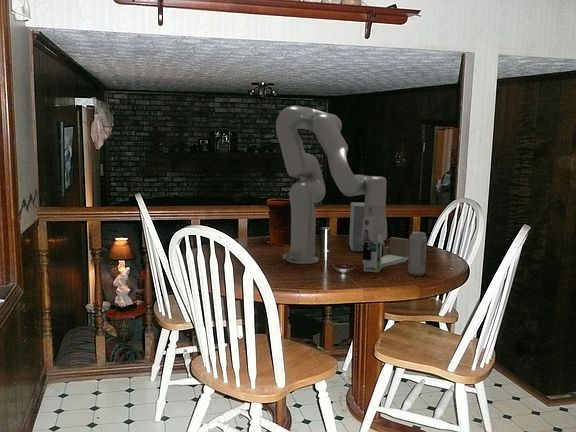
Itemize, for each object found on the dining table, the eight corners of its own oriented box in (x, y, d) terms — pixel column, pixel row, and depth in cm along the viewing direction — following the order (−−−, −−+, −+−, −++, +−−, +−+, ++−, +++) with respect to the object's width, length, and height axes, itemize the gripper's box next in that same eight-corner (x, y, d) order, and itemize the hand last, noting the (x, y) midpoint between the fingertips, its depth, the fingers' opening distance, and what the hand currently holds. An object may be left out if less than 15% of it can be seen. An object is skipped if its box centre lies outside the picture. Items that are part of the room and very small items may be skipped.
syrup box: (363, 271, 201) (364, 232, 199) (365, 268, 206) (367, 229, 204) (379, 272, 199) (380, 233, 197) (381, 269, 205) (382, 230, 203)
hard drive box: (369, 252, 236) (371, 206, 234) (351, 251, 237) (353, 205, 234) (365, 245, 252) (367, 202, 249) (348, 245, 252) (350, 201, 249)
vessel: (264, 239, 260) (266, 197, 258) (294, 240, 262) (296, 198, 259) (265, 245, 246) (267, 201, 244) (297, 246, 247) (299, 202, 245)
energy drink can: (411, 271, 203) (413, 230, 201) (427, 273, 200) (429, 232, 198) (405, 274, 198) (407, 232, 196) (421, 276, 195) (423, 234, 193)
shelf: (382, 267, 208) (383, 245, 206) (362, 263, 214) (363, 242, 212) (408, 260, 221) (409, 239, 220) (388, 256, 227) (389, 236, 226)
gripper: (369, 213, 191) (367, 263, 193) (396, 209, 204) (394, 256, 206) (352, 211, 196) (350, 260, 198) (379, 207, 209) (377, 253, 211)
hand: (373, 257), depth 202 cm, fingers closed on syrup box, 7 cm apart
